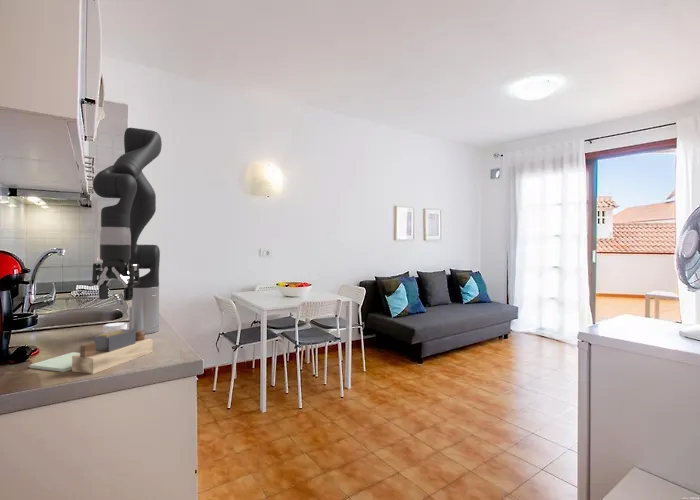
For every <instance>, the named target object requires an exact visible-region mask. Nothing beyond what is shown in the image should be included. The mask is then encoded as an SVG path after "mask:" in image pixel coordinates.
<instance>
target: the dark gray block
mask: <svg viewBox="0 0 700 500" xmlns="http://www.w3.org/2000/svg"><path fill="white" fill-rule="evenodd" d="M93 338H94V339H93V343H96V351H102V352H111V351H114V350H117V349H120V348H123V347H127V346H130V345H133V344H136V330H129V329H127V330H126V329H121V330H114V331H110V332H106V333H104V332H103V333H99V334H97V335H95V336H94V337H93Z"/></svg>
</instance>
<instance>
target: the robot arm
mask: <svg viewBox="0 0 700 500" xmlns="http://www.w3.org/2000/svg"><path fill="white" fill-rule="evenodd" d="M162 145H163V143H162V137H161V135H160V133H158V131H156V130H151V129H146V128H145V129H144V128H136V127H127V128H126V129H125V131H124V135H123V147H124V153H123V154H122V155H120V156H119V157H118V158H117V159H116V161H115V162H114V163H113V165H109V166H108V167H106V168H105V169H102V170H100V171H99V172H98V173H97V174H96V175H95V176H94V178H93V181H92V189H93V191H94V194H96V195H98V197H100V198H103V199H119V201H118V202H117V203H116V204H114V205H107V206H104V207H102V208H101V211H100V233H99V259H100V260H101V261H102V262H96V263H95V262H94V263H93V264H92V277H91V283H92V284H93V285H97V287H98V296H99V300H107V299H108V298H109V284H110V282H111V281H112V280H114V279H115V280H118V281H119V282H121V283H122V285H123V300H124V301H125V302H126V301H127V302H128V301H129V302H130V301H131V306H130V307H129V309H128V311H129V312H128V314H129V315H128V316H129V318H128V319H129V320H128V323H129V324H128V325H129V326H128V328H129V329H128V330H136V331H145V335H147V334H152V333H156V332H159V331H160V261H161V260H160V259H161V258H160V257H161V250H160V247H159V246H158V245H157V244H138V240H139V238H140V235H141V234H142V232H143V230H144V229H145V227H146V226H148V224H149V222H150V221H151V220H152V218H153V217H154V215H155V213H156V210H157V207H156V205H157V200H156V198H157V197H156V196H157V195H156V192H155V190H154V188H153V187H152V185H151V183H150V181H149V180H148V179H147V177H146V176H145V174H144V173H143V170H144V168H146V167H147V166H148V165H150V163H152V162H153V161H154V160H155V159H157V158H158V157H159V156H160V154H161V152H162ZM147 269H149V271H148V273H145V274H144V275H142V276H140V270H147Z"/></svg>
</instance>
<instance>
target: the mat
mask: <svg viewBox="0 0 700 500" xmlns="http://www.w3.org/2000/svg"><path fill="white" fill-rule="evenodd" d="M78 354H80V352H77V351H76V352H74V351H71V352H68V353H66V354H63V355H62V354H61V355H58V356H55V357H52V358H49V359H46V360H42V361H39V362H38V361H37V362H35V363H32V364H29V369H37V370H45V371H53V372H63V373H65V372H68V371H71V370H72V356H75V355H78Z"/></svg>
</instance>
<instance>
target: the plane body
mask: <svg viewBox="0 0 700 500" xmlns="http://www.w3.org/2000/svg"><path fill="white" fill-rule="evenodd" d="M145 335H146V334H145V331H136V344H133V345H130V346H127V347H123V348H120V349H117V350H114V351H111V352H102V351H96V343H94V342H88V343H85V344H81V345H80V346H79V349H80V350H79V353H80V354H78V355H75V356H72V369H71V370H72V371H71V372H76V373H83V374H90V375H91V374H92V375H94V374H96V373H97V374H98V373H99V372H102V371H105V370H107V369H110V368H114V367H117V366H119V365H121V364H124V363H127V362H130V361H132V360H135V359H137V358H140V357H143V356H146V355H149V354H150V353H153V349H154V347H153V346H154V345H153V343H154V342H153V339H152V338H145Z"/></svg>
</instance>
